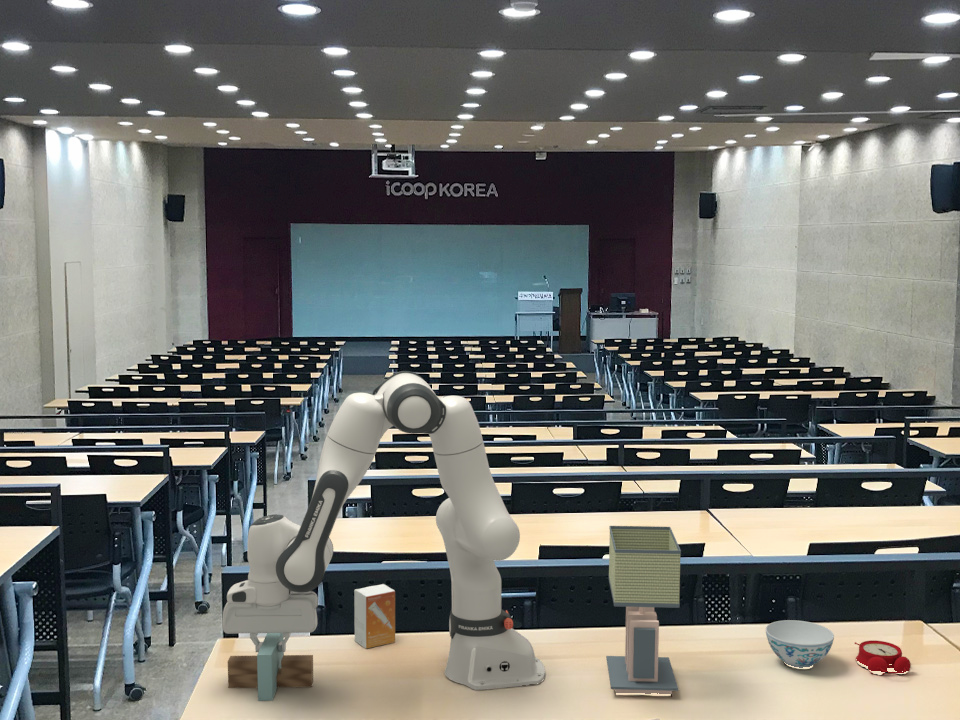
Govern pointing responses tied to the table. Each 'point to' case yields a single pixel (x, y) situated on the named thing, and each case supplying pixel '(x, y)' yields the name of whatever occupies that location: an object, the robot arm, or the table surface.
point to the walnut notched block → (289, 675)
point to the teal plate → (269, 666)
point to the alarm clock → (882, 656)
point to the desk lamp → (643, 604)
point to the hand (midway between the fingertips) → (270, 651)
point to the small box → (374, 615)
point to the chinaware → (799, 642)
